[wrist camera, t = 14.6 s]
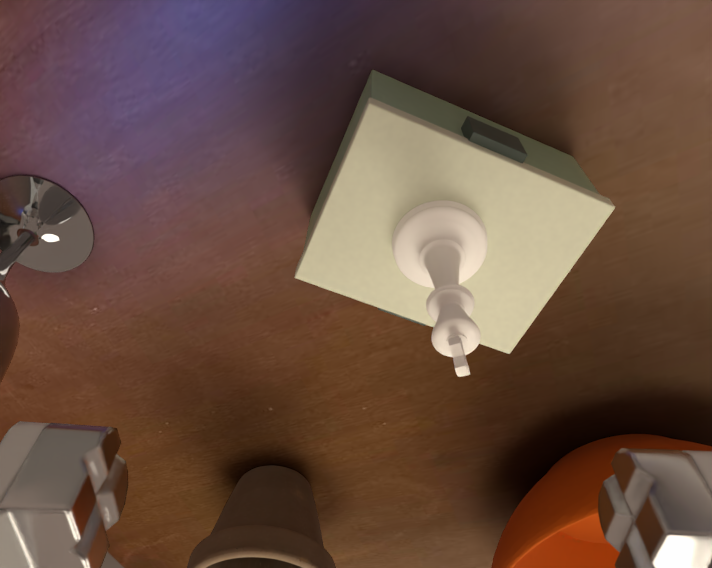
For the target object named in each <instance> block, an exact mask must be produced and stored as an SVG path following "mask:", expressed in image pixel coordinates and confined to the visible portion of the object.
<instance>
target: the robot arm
mask: <svg viewBox="0 0 712 568" xmlns="http://www.w3.org/2000/svg"><path fill="white" fill-rule="evenodd" d="M120 444H121V440H120V437H119V434H118V430H117V428H113V427H102V426H87V425H72V424H57V423H36V422H20V421H19V422H18V423H17V424H15V425H14V426H13V427H11V428H10V429H9V430H8V432H7V434H6V435H5V437H4V438H3V440H2V441H1V443H0V568H101V566H102V563H103V561H104V558H105V556H106V553H107V550H108V548H109V541H108V538H107V534H106V530H107V529H109V528H110V527H111V526H112V525H113V524H115V523H116V522H117V521H118V520H119V519H120V516H121V513H122V510H123V508H124V505H125V500H126V495H127V489H128V470H127V465H126V461H124V460H123V459H122V458H121V457H120V456H118V455H117V452H118V449H119V447H120ZM611 465H612V468H613V470H614V472H615V474H614V475H612V476H611V477H609V478H608V479H606V480H605V481H603V484H602V486H601V489H600V492H599V495H598V515H599V520H600V525H601V528H602V531H603V534H604V537H605V539H606V540H607V541H608V542H609V543H610V544H611V545H612V546H613V547H614V548H615V549H616V550H617V551H619V555H618V557H617V560H616V562H615V567H616V568H712V451H688V450H683V451H680V450H669V449H636V448H621V449H620V450H618V451H617V452H616V453H615V455H614V457H613V460H612V462H611Z"/></svg>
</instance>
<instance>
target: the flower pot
mask: <svg viewBox="0 0 712 568" xmlns="http://www.w3.org/2000/svg"><path fill="white" fill-rule="evenodd" d="M187 568H336V567H335V563H334V561H333V559H332V557H331V556H330V554H329V553H328V552H327V551H326V550H325V549H324V546H323V541H322V535H321V530H320V524H319V519H318V514H317V509H316V505H315V501H314V497H313V493H312V489H311V486H310V484H309V482H308V481H307V480H306V479H305V477H303V476H302V475H301V474H300V473H298V472H296V471H294V470H292V469H290V468H286V467H282V466H275V465H268V466H261V467H257V468H254V469H252V470H250V471H248V472H247V473H245V474H244V475H243V476H242V477H241V478H240V480H239V481H238V483H237V485H236V486H235V488H234V490H233V492H232V494H231V495H230V497H229V499H228V501H227V503H226V505H225V507H224V509H223V511H222V513H221V515H220V517H219V519H218V521H217V523H216V525H215V527H214V529H213V531H212V532H211V534H210V536H208V537H207V538H205V539H204V540H202V541H201V542H200V543H199V544H198V545H197V546H196V547H195V549H194V550H193V552H192V554H191V556H190V559H189V563H188V566H187Z"/></svg>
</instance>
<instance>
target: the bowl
mask: <svg viewBox="0 0 712 568" xmlns="http://www.w3.org/2000/svg"><path fill="white" fill-rule="evenodd" d="M621 448H636V449H669V450H680V451H683V450H688V451H712V446H708V445H703V444H699V443H694V442H690V441H684V440H677V439H670V438H667V437H663V436H658V435H651V434H626V435H618V436H612V437H608V438H604V439H600V440H597V441H594V442H591V443H588V444H586V445H583V446H581V447H579V448H577V449H575V450H573V451H572V452H570V453H569V454H567V455H566V456H564V457H563V458H561V459H560V460H559V461H558V462H557V463H555V464H554V465H553V466H552V467H551V469H550V470H549V471H548V472H547V474H546V475H545V476H544V477H542V478H541V479H540V480H539V481H538V482H537V483H536V484H535V485H534V487H533V488H532V489H531V490H530V491H529V492H528V493H527V495H526V496H525V497H524V498H523V499H522V501H521V502H520V504H519V505H518V506H517V508H516V509H515V511H514V512H513V514H512V516H511V517H510V519H509V521H508V523H507V525H506V527H505V529H504V531H503V533H502V535H501V538H500V540H499V543H498V546H497V549H496V552H495V555H494V558H493V563H492V568H616V567H615V562H616V560H617V557H618V555H619V551H617V550H616V549H615V548H614V547H613V546H612V545H611V544H610V543H609V542H608V541H607V540H606V539H605V537H604V534H603V531H602V528H601V525H600V520H599V515H598V495H599V492H600V489H601V486H602V484H603V481H605V480H606V479H608V478H609V477H611V476H612V475H614V474H615V472H614V470H613V468H612V465H611V462H612V460H613V457H614V455H615V453H616V452H617V451H618V450H620V449H621Z"/></svg>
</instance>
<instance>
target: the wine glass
mask: <svg viewBox="0 0 712 568" xmlns="http://www.w3.org/2000/svg"><path fill="white" fill-rule="evenodd" d="M93 244H94V230H93V226H92V223H91V221H90V218H89V216H88V214H87V213H86V211H85V209H84V208H83V206H82V205H81V204H80V203H79V202H78V201H77V199H76V198H74V197H73V196H72V195H71V194H70V193H69V192H67V191H66V190H65V189H63V188H62V187H60V186H58V185H56V184H54V183H52V182H50V181H48V180H45V179H42V178H39V177H34V176H29V175H16V176H9V177H6V178H4V179H1V180H0V249H1V250H2V251H3V252H1V253H0V384H1V382H2V380H3V378H4V376H5V374H6V372H7V370H8V368H9V365H10V363H11V360H12V358H13V355H14V352H15V349H16V346H17V344H18V338H19V330H20V323H19V316H18V312H17V309H16V306H15V303H14V301H13V299H12V297H11V296H10V294H9V292H8V290H7V288H6V285H5V281H6V277H7V275H8V273H9V271H10V269H11V268H12V266H13V265H14V263H15V262H18V263H20V264H22V265H24V266H26V267H29V268H32V269H35V270H38V271H44V272H64V271H68V270H71V269H74V268H76V267H78V266H80V265H81V264H82V263H83V262H84V261H86V259H87V258H88V257H89V255H90V253H91V251H92V249H93Z"/></svg>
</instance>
